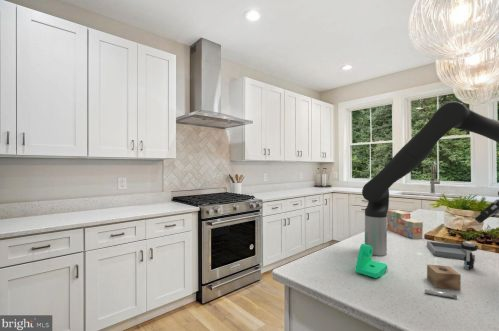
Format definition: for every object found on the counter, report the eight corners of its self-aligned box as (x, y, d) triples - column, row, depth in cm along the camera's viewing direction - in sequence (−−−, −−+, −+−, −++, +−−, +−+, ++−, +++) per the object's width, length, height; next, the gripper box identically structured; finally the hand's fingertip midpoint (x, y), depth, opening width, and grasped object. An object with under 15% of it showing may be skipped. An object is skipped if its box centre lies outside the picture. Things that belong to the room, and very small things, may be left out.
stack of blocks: (422, 239, 138) (423, 216, 137) (412, 239, 137) (412, 217, 137) (395, 228, 159) (396, 209, 159) (386, 229, 158) (386, 209, 158)
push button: (475, 272, 96) (475, 246, 96) (457, 267, 100) (458, 242, 100) (478, 267, 100) (479, 242, 100) (461, 263, 104) (462, 239, 104)
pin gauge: (425, 294, 80) (425, 290, 80) (424, 292, 82) (424, 288, 82) (456, 299, 77) (456, 295, 77) (455, 297, 78) (455, 293, 78)
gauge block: (436, 287, 85) (436, 272, 85) (427, 277, 92) (427, 264, 91) (460, 289, 83) (460, 274, 83) (449, 280, 90) (449, 266, 90)
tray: (434, 256, 112) (434, 250, 112) (427, 245, 126) (427, 241, 126) (474, 261, 107) (474, 255, 107) (462, 249, 120) (462, 244, 120)
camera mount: (376, 281, 90) (376, 252, 89) (355, 274, 95) (355, 247, 95) (388, 271, 98) (388, 244, 98) (367, 265, 103) (368, 240, 103)
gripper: (519, 178, 91) (485, 206, 102) (497, 187, 86) (464, 214, 97) (542, 194, 86) (504, 221, 97) (521, 204, 81) (482, 231, 92)
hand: (484, 217), depth 97 cm, fingers open, 8 cm apart
